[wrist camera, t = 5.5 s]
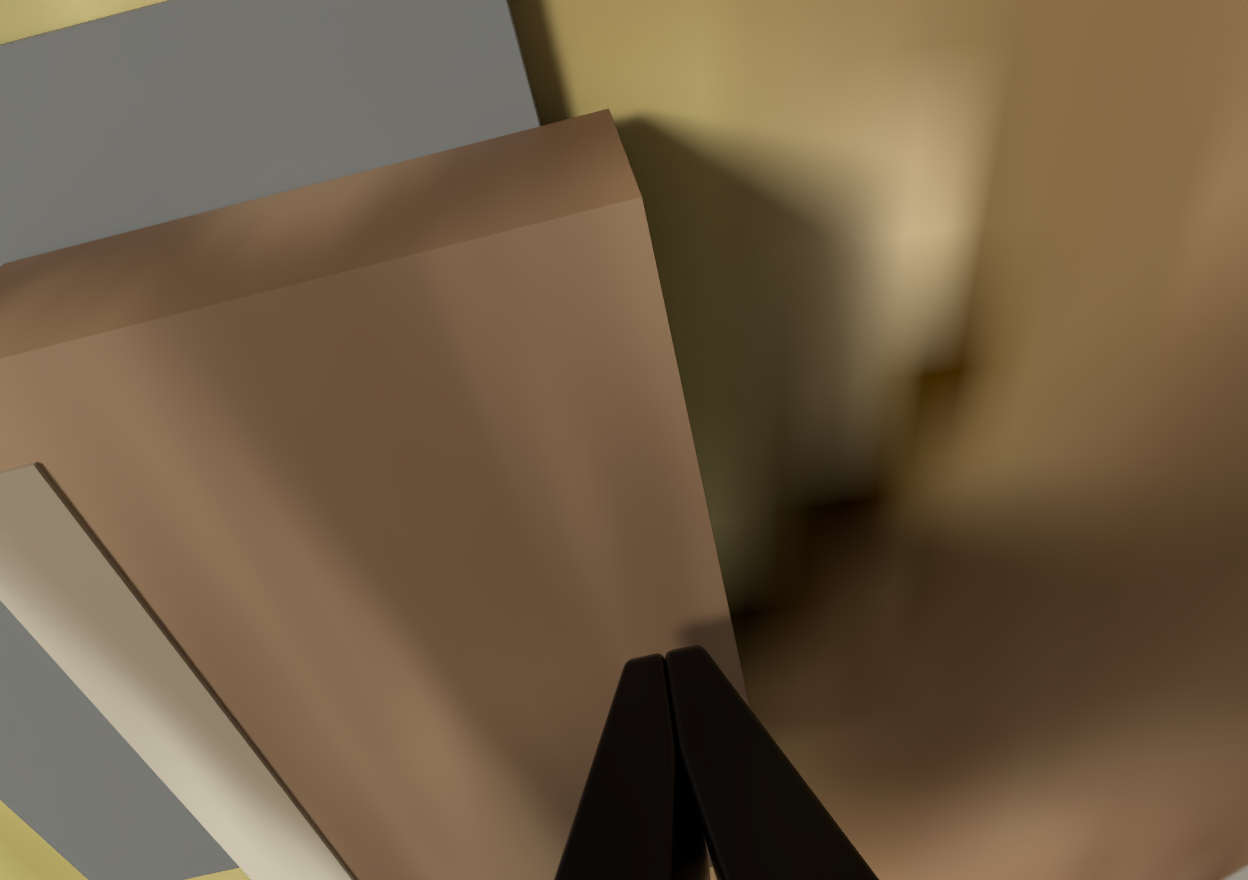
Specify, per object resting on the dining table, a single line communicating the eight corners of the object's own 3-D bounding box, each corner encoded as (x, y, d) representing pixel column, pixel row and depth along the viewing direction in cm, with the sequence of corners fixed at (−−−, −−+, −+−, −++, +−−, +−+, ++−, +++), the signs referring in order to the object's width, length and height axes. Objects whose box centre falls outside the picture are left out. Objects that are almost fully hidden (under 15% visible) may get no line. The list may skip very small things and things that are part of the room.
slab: (643, 199, 7) (-176, 405, 7) (781, 855, 13) (319, 957, 13) (607, 106, 9) (6, 261, 10) (735, 686, 15) (352, 774, 15)
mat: (486, -83, 9) (484, -80, 8) (706, 747, 17) (709, 765, 16) (-601, 201, 9) (-644, 216, 9) (114, 876, 17) (106, 895, 17)
